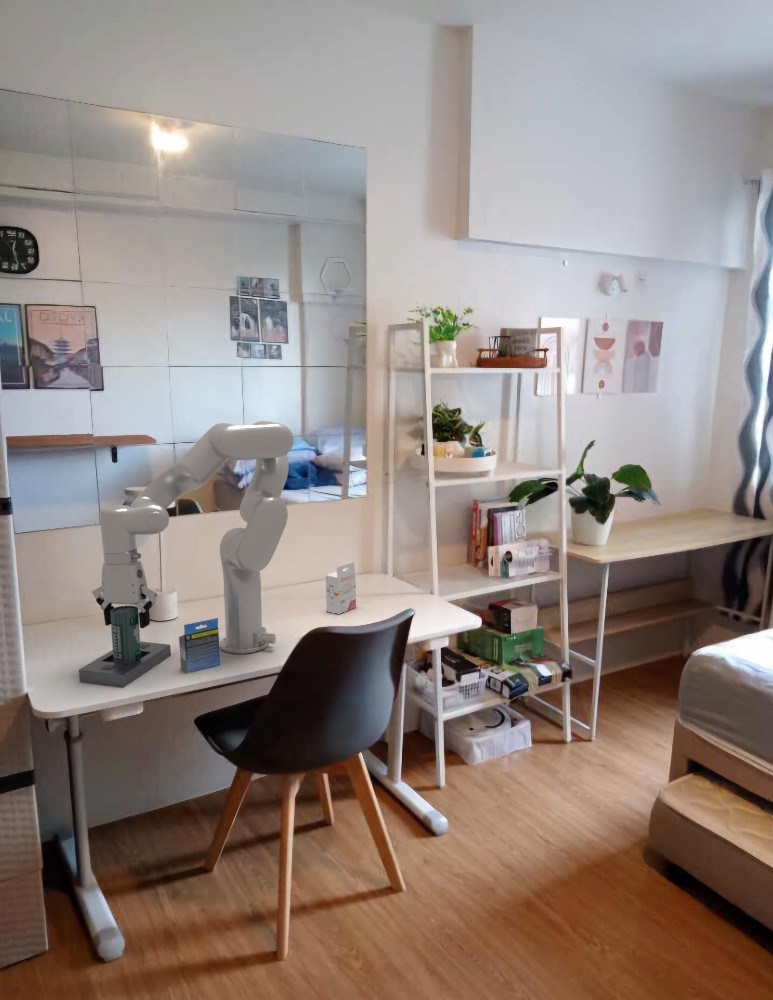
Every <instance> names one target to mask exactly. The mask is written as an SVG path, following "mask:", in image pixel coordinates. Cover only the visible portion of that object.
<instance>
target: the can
mask: <svg viewBox="0 0 773 1000" xmlns="http://www.w3.org/2000/svg"><path fill="white" fill-rule="evenodd" d="M110 615H111V624H110V626H111V627H110V629H111V639H112V640H111V643H112V650H113V660H114V663H121V664H129V665H132V664H133V663H135V662H136V661H138V660H140V659H141V649H140V641H141V638H140V637H141V636H140V634H141V633H140V622H139V609H138V607H137V606H136V605H121V606H115V607H114V608H113V609H111V610H110Z"/></svg>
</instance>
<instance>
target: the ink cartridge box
mask: <svg viewBox="0 0 773 1000" xmlns="http://www.w3.org/2000/svg"><path fill="white" fill-rule="evenodd" d="M346 568H348V569H346ZM356 582H357V581H356V567H355V561H352V562H348V563H345V564H342V565H340V566H337V567H336V571H333V572H332V573H328V574H325V589H326V590H325V592H326V593H325V594H326V596H325V597H326V612H327V611H328V612H327V613H329V612H333V613H337V614H339V613H342V612H344V613H346V612H345V611H347V612H350V611H351V609H352V610H354V609H355V608H357V598H356V597H357V591H356V587H357V585H356ZM333 613H332V614H333ZM337 614H336V615H337ZM342 614H343V613H342ZM339 615H340V614H339Z"/></svg>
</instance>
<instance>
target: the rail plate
mask: <svg viewBox="0 0 773 1000" xmlns="http://www.w3.org/2000/svg"><path fill="white" fill-rule="evenodd" d="M171 648H172V647H171V644H167V643H160V642H159V643H158V642H147V641H142V640H140V649H141V659H140V660H138V661H136V662H135V663H133V664H132V665H129V664H121V663H114V660H113V649H112V650H110V651H108V652H107V653H105V654H103V655H101V656H100V657H98V658H96V659H95V660H93V661H90V662H89V663H86V664H85V665H84V666H82V667H81V668H79V669H78V678H79V679H78V681H79V682H80V683H88V684H96V685H103V686H110V687H111V686H112V687H119V688H125V687H127V686H128V685H130V684H132V683H133V682H135V680H137V679H139V678H140V677H141V676H143V675H145V674H147V672H149V671H150V670H152V669H154V668H155V667H156V666H158V665H159V664H161V663H163V661H166V660H167V659H169V658H170V657H171V656H172V654H171Z"/></svg>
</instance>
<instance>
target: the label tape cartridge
mask: <svg viewBox="0 0 773 1000" xmlns="http://www.w3.org/2000/svg"><path fill="white" fill-rule="evenodd" d="M218 621H219V618H218V617H216V618H211V619H206V620H201V621H198V622H193V623H188V624H187V623H186V624H184V625H183V627H184V628H183V629H184V630H183V632H184V634H183V635H181V636H179V637H178V641H179V643H178V644H179V658H180V659H179V661H180V662H179V663H180V669H181V671H183V672H184V673H185V674H190V673H194V672H197V671H200V670H201V671H202V670H205V669H207V668H212V667H213V668H214V667H216V666H220V665H221V652H220V650H221V648H220V635H219V622H218ZM201 625H202V626H206V627H202V628H199V627H200V626H201ZM197 627H198V628H197Z"/></svg>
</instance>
